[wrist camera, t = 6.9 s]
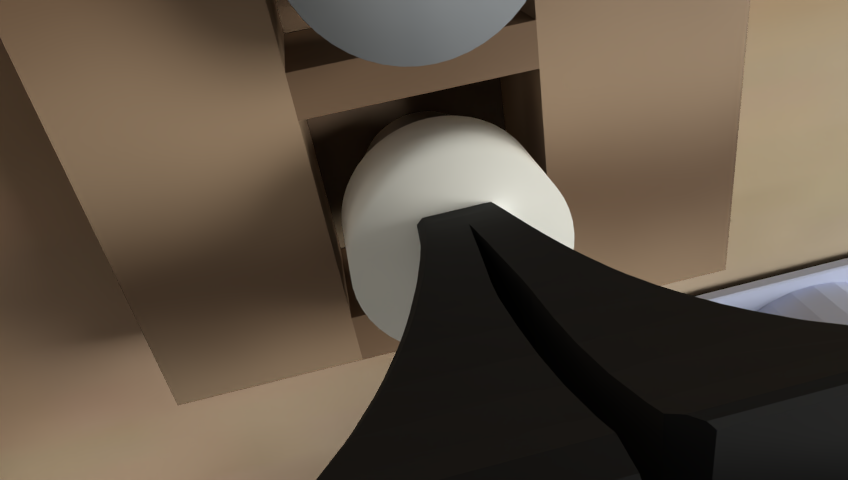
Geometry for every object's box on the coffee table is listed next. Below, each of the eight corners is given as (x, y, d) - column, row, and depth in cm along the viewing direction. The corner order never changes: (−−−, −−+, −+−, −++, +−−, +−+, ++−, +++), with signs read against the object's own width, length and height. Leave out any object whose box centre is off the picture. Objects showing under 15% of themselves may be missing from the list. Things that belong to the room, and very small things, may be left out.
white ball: (518, 227, 16) (578, 321, 13) (355, 266, 16) (374, 373, 13) (502, 65, 14) (569, 128, 11) (314, 105, 14) (325, 183, 11)
